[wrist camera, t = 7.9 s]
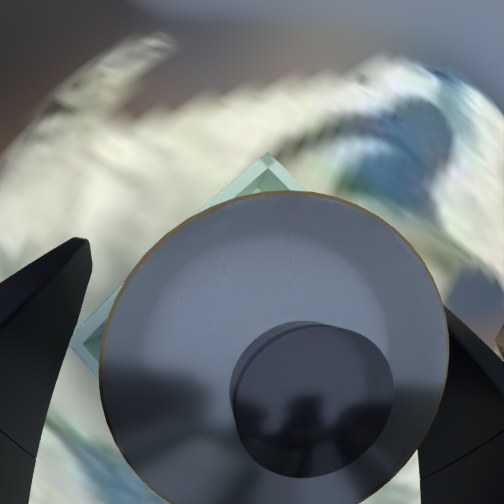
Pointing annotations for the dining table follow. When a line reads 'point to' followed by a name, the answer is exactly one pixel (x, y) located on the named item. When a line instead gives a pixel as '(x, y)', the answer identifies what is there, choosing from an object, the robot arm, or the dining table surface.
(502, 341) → the bin
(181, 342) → the cell
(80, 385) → the dining table surface
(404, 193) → the dining table surface
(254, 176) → the trough
